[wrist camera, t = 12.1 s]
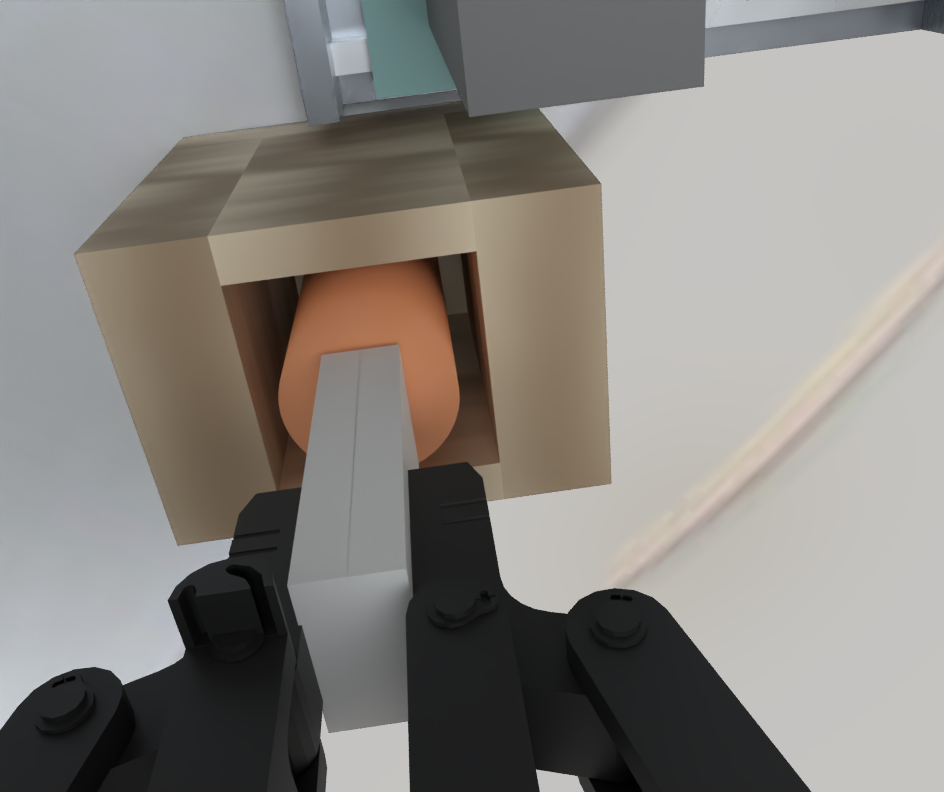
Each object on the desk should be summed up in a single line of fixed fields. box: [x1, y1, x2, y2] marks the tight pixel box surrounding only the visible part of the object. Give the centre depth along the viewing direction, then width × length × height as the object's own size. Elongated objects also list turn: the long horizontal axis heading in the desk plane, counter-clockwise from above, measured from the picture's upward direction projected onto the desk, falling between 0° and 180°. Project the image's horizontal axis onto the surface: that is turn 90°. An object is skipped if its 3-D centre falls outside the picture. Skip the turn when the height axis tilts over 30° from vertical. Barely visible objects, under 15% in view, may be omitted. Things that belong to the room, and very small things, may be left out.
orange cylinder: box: [278, 257, 460, 462], centre depth 21 cm, size 4×4×8 cm
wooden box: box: [74, 101, 611, 546], centre depth 22 cm, size 10×7×10 cm
